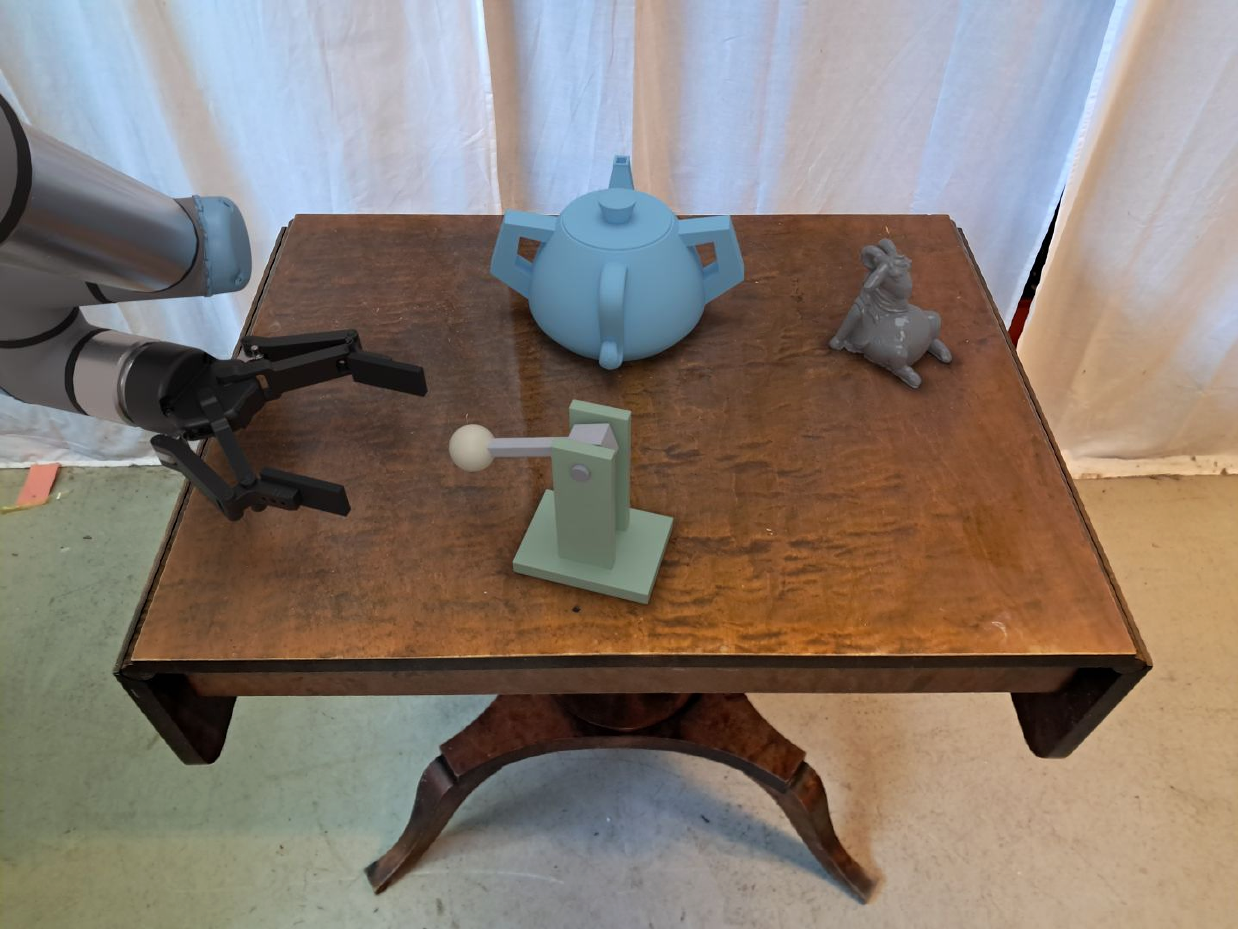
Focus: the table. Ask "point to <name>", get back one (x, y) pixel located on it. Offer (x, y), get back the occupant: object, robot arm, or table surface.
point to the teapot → (617, 270)
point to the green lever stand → (594, 517)
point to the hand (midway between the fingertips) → (387, 438)
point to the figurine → (890, 317)
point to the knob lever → (517, 444)
